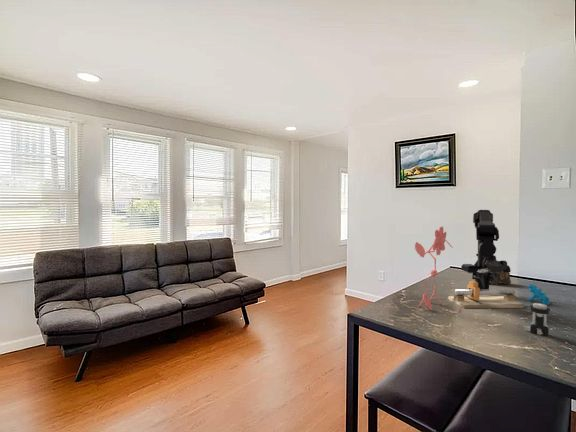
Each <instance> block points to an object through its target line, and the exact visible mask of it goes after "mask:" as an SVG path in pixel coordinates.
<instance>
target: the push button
mask: <svg viewBox="0 0 576 432" xmlns="http://www.w3.org/2000/svg"><path fill="white" fill-rule="evenodd" d="M529 308H530V311H531V312H532V322H531V323H530V325H529V326H526V325H524V330H525V331H530V333H532V334H537V335H539V336H540V335H541V336H545V337H549V327H548V324H547V315H549V313H550V311H551V308H550V307H548V305H546V304H543V303H542V302H533V304H531V305H529Z"/></svg>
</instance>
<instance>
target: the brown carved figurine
mask: <svg viewBox="0 0 576 432" xmlns="http://www.w3.org/2000/svg"><path fill="white" fill-rule="evenodd" d="M511 271H512V270H511V269H510V272H503V271H502V272H501V273H500V272H496V273H497V274H495V275H494V277H493V281H489V284H491V285H496V286H497V285H498V284H500V283H501V284H504V285H509V284H511V283H512V280H511V276H510V275H511ZM467 273H468V274H471V275H472V273H469V272H467Z"/></svg>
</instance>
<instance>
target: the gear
mask: <svg viewBox="0 0 576 432" xmlns="http://www.w3.org/2000/svg"><path fill="white" fill-rule="evenodd" d="M527 287H528V288H529V289H528V291H529V292H531V295H532V296H531V297H529V298H528V301H529V302H530V301H533V300H534V299H535V300H537V301H540V303H541V304H545V305H547V306H548V305H550V303H551V301H550V298H549V297H548V296H547V292H546V291H543V290H542V288H540V287H539V288H538V286H536V285H533V284H529V285H528V286H527ZM542 291H543V292H542Z"/></svg>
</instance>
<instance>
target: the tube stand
mask: <svg viewBox="0 0 576 432" xmlns="http://www.w3.org/2000/svg"><path fill="white" fill-rule="evenodd" d="M453 290H454V291H453V295H448V296H447V300H448V299H449V302H452V303H454V305H457V306H458V307H460V308H463V309H500V308H501V309H506V308H509V309H510V308H512V309H514V308H517V309H519V308H523V309H524V303H522V302H519V301H516V297H517V296H516V295H515V294H516V290H515V289H513V288H512V289H511V288H510V289H509V288H504V289H503V288H502V289H500V288H499V289H497V288H496V289H495V288H494V289H493V288H492V289H491V288H489V289H480V297H479V300H473V299H471V298H469V297H467V295H474V290H473V289H470V290H467V289H453Z"/></svg>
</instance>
